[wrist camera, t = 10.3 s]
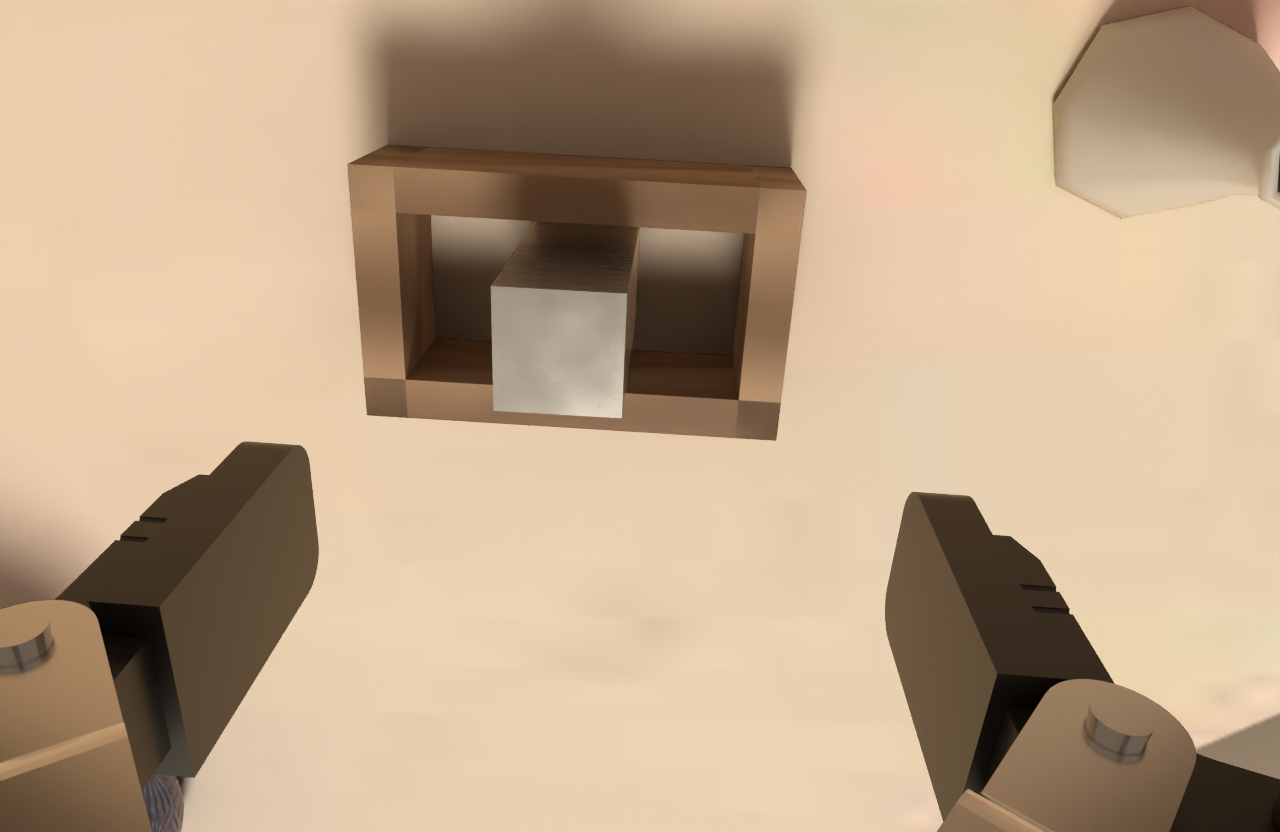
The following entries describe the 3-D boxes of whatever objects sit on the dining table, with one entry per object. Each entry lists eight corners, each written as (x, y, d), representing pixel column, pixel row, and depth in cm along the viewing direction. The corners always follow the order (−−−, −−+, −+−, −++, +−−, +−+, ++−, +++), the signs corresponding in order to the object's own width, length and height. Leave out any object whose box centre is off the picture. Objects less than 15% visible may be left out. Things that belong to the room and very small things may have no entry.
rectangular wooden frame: (387, 145, 34) (347, 164, 30) (791, 168, 34) (806, 190, 30) (400, 370, 38) (367, 415, 34) (765, 393, 38) (775, 440, 34)
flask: (1213, 228, 34) (1406, 310, 25) (1021, 205, 34) (1145, 279, 25) (1291, 18, 31) (1540, 25, 22) (1081, -7, 31) (1245, -11, 22)
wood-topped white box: (535, 220, 35) (490, 285, 27) (639, 225, 35) (626, 293, 27) (535, 320, 37) (493, 410, 29) (634, 325, 37) (621, 418, 29)
